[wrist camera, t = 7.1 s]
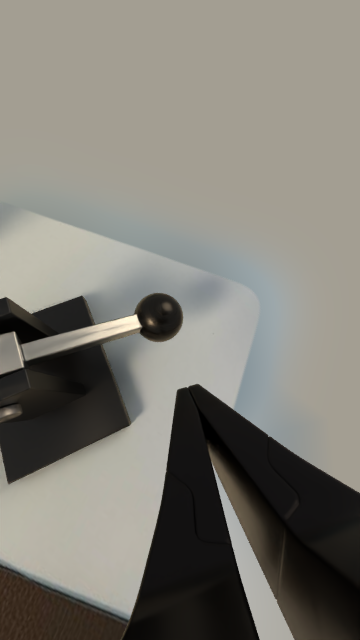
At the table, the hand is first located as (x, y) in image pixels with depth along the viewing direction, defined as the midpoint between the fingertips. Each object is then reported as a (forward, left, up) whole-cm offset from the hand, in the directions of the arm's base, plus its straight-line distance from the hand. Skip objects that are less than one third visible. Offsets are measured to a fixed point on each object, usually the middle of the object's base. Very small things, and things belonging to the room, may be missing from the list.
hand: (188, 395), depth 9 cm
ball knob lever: (+6, +4, -7) cm, 10 cm away
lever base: (+6, +8, -12) cm, 16 cm away
